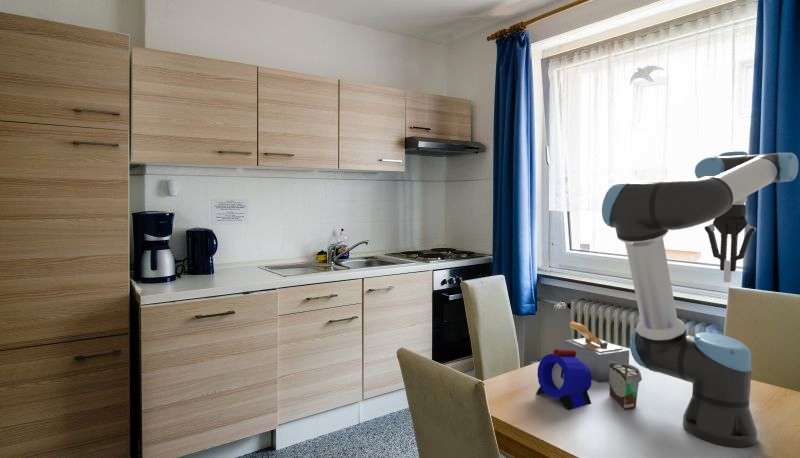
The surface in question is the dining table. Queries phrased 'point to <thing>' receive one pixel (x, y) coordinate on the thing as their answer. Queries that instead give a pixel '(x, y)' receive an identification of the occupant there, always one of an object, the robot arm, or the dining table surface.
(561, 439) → the dining table surface
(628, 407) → the food container
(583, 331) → the lever
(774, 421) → the dining table surface
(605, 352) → the box
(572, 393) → the alarm clock
